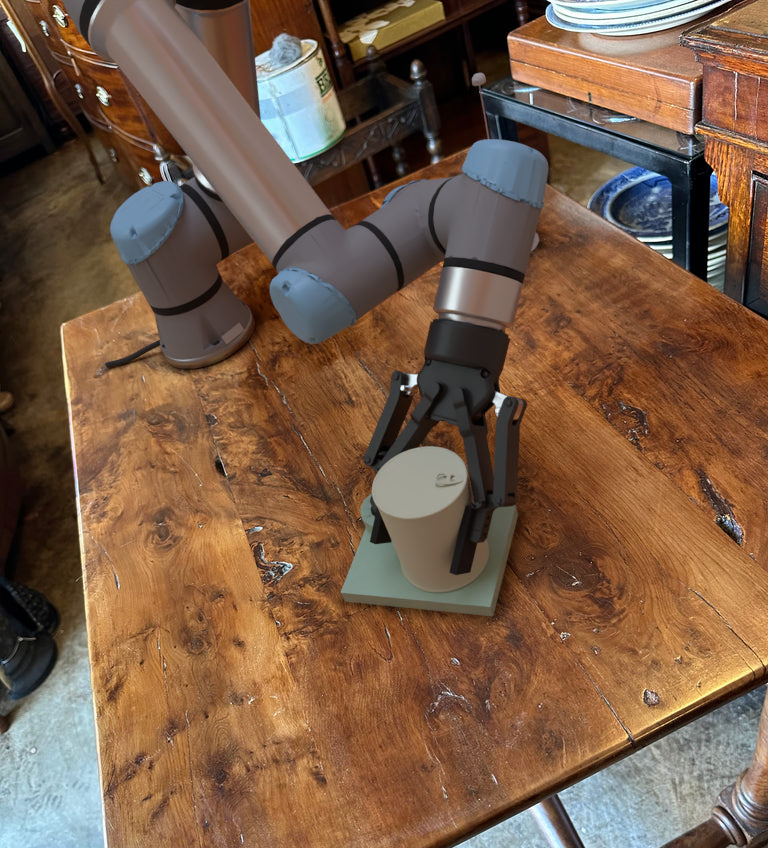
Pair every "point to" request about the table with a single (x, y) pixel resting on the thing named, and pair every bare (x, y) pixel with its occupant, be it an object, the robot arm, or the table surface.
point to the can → (427, 515)
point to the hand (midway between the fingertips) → (418, 556)
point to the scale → (386, 585)
